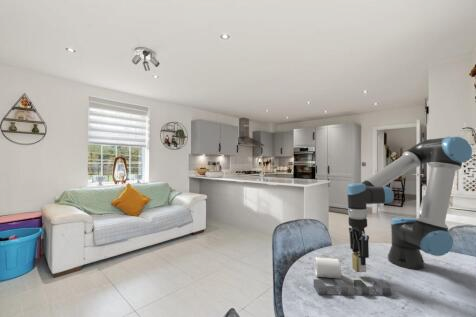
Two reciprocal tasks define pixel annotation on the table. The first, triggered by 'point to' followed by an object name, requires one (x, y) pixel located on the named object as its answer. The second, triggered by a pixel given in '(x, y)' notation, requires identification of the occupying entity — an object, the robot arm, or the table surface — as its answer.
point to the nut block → (355, 261)
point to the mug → (327, 267)
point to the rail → (352, 288)
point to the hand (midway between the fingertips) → (359, 269)
